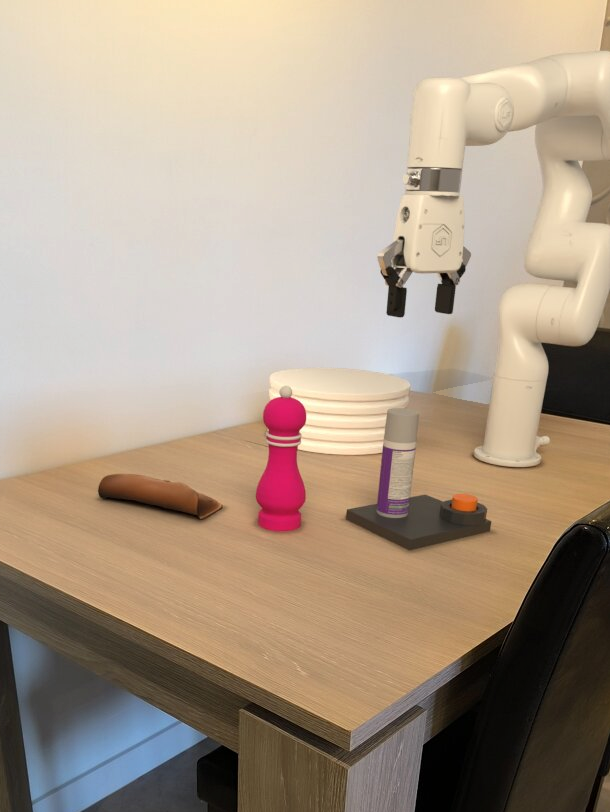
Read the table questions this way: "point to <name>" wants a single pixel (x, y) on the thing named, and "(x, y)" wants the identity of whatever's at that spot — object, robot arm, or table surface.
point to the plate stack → (342, 407)
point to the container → (397, 462)
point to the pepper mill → (282, 465)
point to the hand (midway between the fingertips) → (419, 314)
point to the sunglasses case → (158, 493)
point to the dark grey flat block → (422, 522)
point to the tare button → (464, 502)
